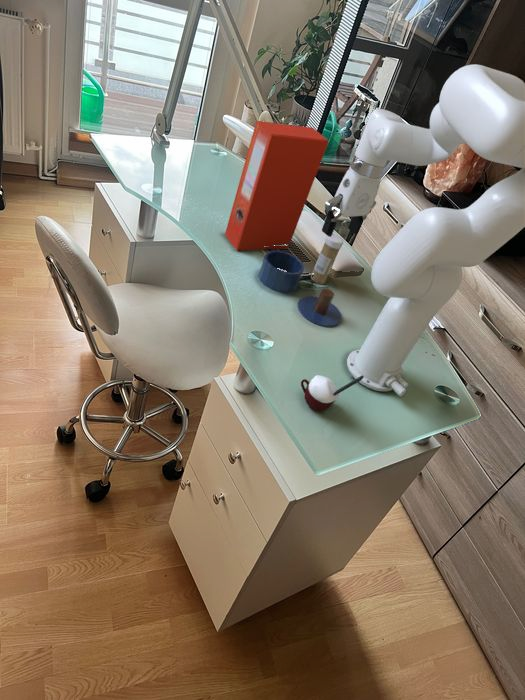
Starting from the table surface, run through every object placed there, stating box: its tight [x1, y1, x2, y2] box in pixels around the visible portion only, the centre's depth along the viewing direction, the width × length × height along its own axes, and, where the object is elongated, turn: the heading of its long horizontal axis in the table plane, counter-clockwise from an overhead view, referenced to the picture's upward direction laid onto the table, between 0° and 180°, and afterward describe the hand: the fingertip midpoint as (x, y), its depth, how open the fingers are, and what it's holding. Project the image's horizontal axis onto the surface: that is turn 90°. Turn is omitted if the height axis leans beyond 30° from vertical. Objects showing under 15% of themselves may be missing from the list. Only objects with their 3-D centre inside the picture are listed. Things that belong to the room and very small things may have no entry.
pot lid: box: [297, 288, 342, 328], centre depth 123 cm, size 11×11×7 cm
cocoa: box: [300, 374, 364, 412], centre depth 97 cm, size 10×6×12 cm, turn 34°
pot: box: [258, 249, 305, 294], centre depth 128 cm, size 10×10×6 cm
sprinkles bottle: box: [310, 233, 344, 285], centre depth 133 cm, size 5×5×14 cm
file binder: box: [224, 120, 329, 251], centre depth 133 cm, size 8×17×32 cm, turn 121°
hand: (339, 232), depth 127 cm, fingers open, 9 cm apart
